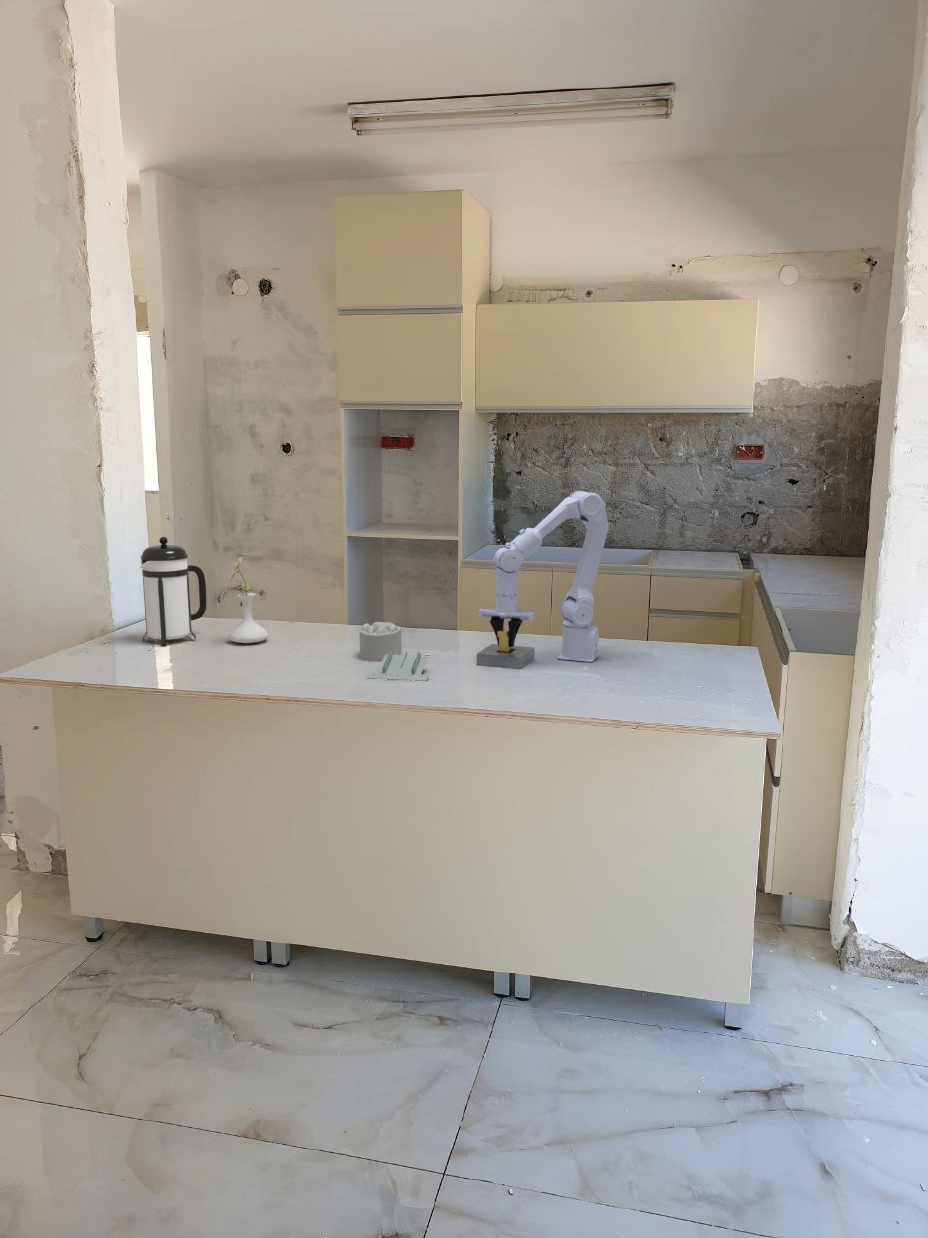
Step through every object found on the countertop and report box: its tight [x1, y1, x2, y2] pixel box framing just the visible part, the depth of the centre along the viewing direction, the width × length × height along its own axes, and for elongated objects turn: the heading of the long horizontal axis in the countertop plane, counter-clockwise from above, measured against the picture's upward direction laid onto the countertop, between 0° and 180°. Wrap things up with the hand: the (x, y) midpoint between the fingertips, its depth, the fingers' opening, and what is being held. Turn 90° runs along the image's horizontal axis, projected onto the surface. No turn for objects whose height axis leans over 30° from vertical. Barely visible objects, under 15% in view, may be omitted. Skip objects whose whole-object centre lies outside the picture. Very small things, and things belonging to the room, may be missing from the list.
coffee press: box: [138, 536, 207, 647], centre depth 265 cm, size 17×16×30 cm
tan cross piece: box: [498, 625, 513, 653], centre depth 243 cm, size 2×7×8 cm, turn 159°
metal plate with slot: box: [476, 643, 535, 670], centre depth 243 cm, size 12×12×3 cm
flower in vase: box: [227, 556, 269, 644], centre depth 263 cm, size 13×11×25 cm
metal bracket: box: [366, 650, 429, 682], centre depth 230 cm, size 14×6×15 cm
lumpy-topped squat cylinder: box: [359, 621, 402, 662], centre depth 249 cm, size 10×13×9 cm
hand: (505, 645), depth 243 cm, fingers closed on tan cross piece, 2 cm apart
